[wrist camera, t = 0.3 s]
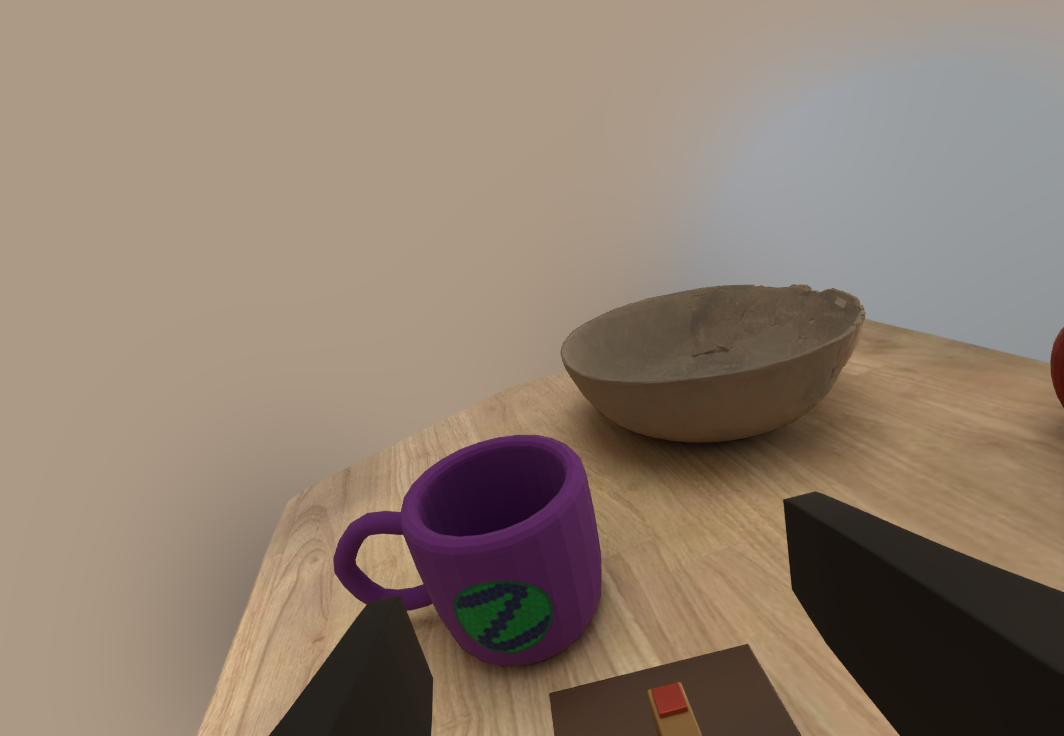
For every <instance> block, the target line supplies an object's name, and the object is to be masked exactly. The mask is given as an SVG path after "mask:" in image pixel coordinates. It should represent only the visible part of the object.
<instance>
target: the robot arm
mask: <svg viewBox="0 0 1064 736" xmlns="http://www.w3.org/2000/svg"><path fill="white" fill-rule="evenodd" d="M783 502H784V513H785V523H786V533H787V543H788V553H789V564H790V574H791V584H792V590H793V592H794V593H795V595H796V597H797V598H798V600H799V601H800V603H801V605H802V606H803V608H804V609H805V611H806V613H807V614H808V616H809V618H810V619H811V621H812V622H813V624H814V625H815V627H816V628H817V630H818V631H819V633H820V634H821V636H822V637H823V639H824V641H825V642H826V644H827V645H828V646H829V647H830V649H831V650H832V651H833V653H834V654H835V655H836V656H837V658H838V659H839V660H840V661H841V663H842V664H843V665H844V667H845V668H846V669H847V670H848V672H849V673H850V674H851V675H852V677H853V678H854V679H855V680H856V682H857V683H858V684H859V685H860V687H861V688H862V689H863V690H864V692H865V693H866V694H867V695H868V697H869V698H870V699H871V700H872V702H873V703H874V704H875V705H876V707H877V708H878V709H879V710H880V712H881V713H882V714H883V715H884V716H885V718H886V719H887V720H888V721H889V723H890V724H891V725H892V726H893V728H894V729H895V730H896V731H897V733H898V734H899V735H900V736H1064V592H1062V591H1059V590H1056V589H1054V588H1051V587H1048V586H1046V585H1043V584H1040V583H1038V582H1035V581H1032V580H1030V579H1027V578H1024V577H1022V576H1019V575H1016V574H1014V573H1011V572H1008V571H1006V570H1003V569H1000V568H998V567H995V566H993V565H990V564H988V563H985V562H983V561H980V560H978V559H975V558H973V557H970V556H968V555H965V554H963V553H960V552H958V551H955V550H953V549H950V548H948V547H946V546H943V545H941V544H938V543H936V542H934V541H931V540H929V539H927V538H924V537H922V536H919V535H917V534H915V533H912V532H910V531H908V530H905V529H903V528H901V527H899V526H896V525H894V524H892V523H889V522H887V521H885V520H882V519H880V518H878V517H876V516H873V515H871V514H869V513H866V512H864V511H862V510H860V509H857V508H855V507H853V506H850V505H848V504H846V503H843V502H841V501H839V500H836V499H834V498H831V497H829V496H826V495H824V494H821V493H819V492H812V493H808V494H804V495H800V496H796V497H792V498H788V499H784V500H783ZM432 700H433V677H432V674H431V672H430V669H429V667H428V664H427V662H426V659H425V657H424V654H423V651H422V649H421V646H420V644H419V641H418V639H417V636H416V634H415V631H414V629H413V626H412V623H411V621H410V618H409V616H408V613H407V611H406V608H405V606H404V603H403V601H402V598H401V596H400V595H398V596H394V597H390V598H386V599H382V600H378V601H374V602H370V603H368V604H367V605H366V606H365V608H364V609H363V610H362V611H361V613H360V614H359V615H358V617H357V618H356V619H355V621H354V622H353V624H352V625H351V626H350V628H349V629H348V630H347V632H346V633H345V635H344V636H343V637H342V639H341V640H340V641H339V643H338V644H337V646H336V647H335V648H334V650H333V651H332V652H331V654H330V655H329V657H328V658H327V659H326V661H325V662H324V664H323V665H322V666H321V668H320V669H319V670H318V672H317V673H316V674H315V676H314V677H313V678H312V680H311V681H310V682H309V684H308V685H307V686H306V688H305V689H304V690H303V692H302V693H301V695H300V696H299V697H298V699H297V700H296V701H295V703H294V704H293V705H292V707H291V708H290V709H289V711H288V712H287V713H286V715H285V716H284V717H283V718H282V720H281V721H280V722H279V723H278V725H277V726H276V727H275V728H274V730H273V731H272V732H271V734H270V735H269V736H431V726H432Z"/></svg>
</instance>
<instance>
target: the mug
mask: <svg viewBox="0 0 1064 736" xmlns="http://www.w3.org/2000/svg"><path fill="white" fill-rule="evenodd" d="M375 534H395V535H404V537H405V540H406V542H407V545H408V547H409V550H410V553H411V555H412V558H413V560H414V563H415V565H416V568H417V570H418V572H419V574H420V577H421V579H422V581H423V583H424V585H420V586H417V587H414V588H407V589H399V590H395V589H385V588H383V587H381V586H380V585H378V584H376V583H375V582H373V581H372V580H370V579H369V578H368V577H367V576H366V575H365V574H364V573H363V572H362V571H361V570H360V568H359V567H358V566H357V565H356V560H355V559H356V556H357V553H358V550H359V548H360V546H361V544H362V543H363V541H364V540H365V539H366V538H367V537H368V536H369V535H375ZM334 572H335V574H336V576H337V577H338V578H339V580H340V581H341V583H342V584H343V586H344V587H345V588H346V589H347V590H348V591H349V592H350V593H351V594H353V595H354V596H355V597H356V598H357V599H358V600H360V601H362V602H363V603H365V604H368V603H370V602H374V601H378V600H382V599H386V598H390V597H394V596H398V595H400V596H401V598H402V601H403V603H404V606H405V608H406V611H408V610H414V609H418V608H422V607H425V606H429V605H431V604H432V603H433V605H434V607H435V609H436V611H437V613H438V614H439V616H440V618H441V619H442V621H443V622H444V624H445V625H446V627H447V628H448V630H449V631H450V632H451V634H452V635H453V637H454V638H455V639H456V641H457V642H458V643H459V645H460V646H461V647H462V649H464V650H466V651H467V652H469V653H470V654H472V655H473V656H475V657H476V658H478V659H479V660H481V661H483V662H487V663H491V664H495V665H499V666H524V665H528V664H531V663H535V662H539V661H543V660H546V659H548V658H549V657H551V656H553V655H555V654H557V653H559V652H561V651H563V650H565V649H566V648H567V647H568V646H569V645H570V644H572V643H573V642H574V641H575V640H576V639H577V638H578V637H580V636H581V634H582V633H583V631H584V630H585V629H586V627H587V626H588V624H589V623H590V621H591V620H592V618H593V615H594V612H595V610H596V607H597V604H598V601H599V599H600V596H601V551H600V544H599V538H598V532H597V526H596V520H595V514H594V508H593V503H592V498H591V494H590V489H589V485H588V480H587V475H586V472H585V469H584V467H583V464H582V462H581V459H580V457H579V456H578V455H577V454H576V453H575V452H574V451H573V450H572V449H570V448H569V447H568V446H567V445H566V444H564V443H562V442H560V441H557V440H555V439H553V438H549V437H544V436H539V435H513V436H506V437H498V438H494V439H490V440H486V441H482V442H478V443H476V444H473V445H471V446H468V447H465V448H463V449H460V450H458V451H456V452H454V453H452V454H451V455H449V456H447V457H445V458H443V459H441V460H440V461H439V462H437V463H436V464H435V465H433V466H432V467H430V468H429V469H428V470H426V471H425V472H424V473H423V474H422V475H421V476H420V477H419V478H418V479H417V480H416V481H415V482H414V483H413V484H412V486H411V488H410V489H409V491H408V492H407V494H406V495H405V497H404V500H403V504H402V509H401V512H392V511H382V512H372V513H367V514H365V515H363V516H362V517H360V518H359V519H357V520H355V521H354V522H352V523H350V525H349V526H348V528H347V529H346V531H345V532H344V534H343V535H342V537H341V538H340V540H339V542H338V545H337V548H336V552H335V555H334Z"/></svg>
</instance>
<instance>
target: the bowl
mask: <svg viewBox="0 0 1064 736" xmlns="http://www.w3.org/2000/svg"><path fill="white" fill-rule="evenodd" d="M864 320H865V310H864V307H863V305H861V304H860V301H859V299H858V298H857V297H855V296H853V295H851V294H849V293H845V292H844V291H840V290H837V289H834V288H832V289H827V290H824V291H822V292H818V291H812V289H811V287H809V286H808V285H791V286H789V287H782V288H774V287H764V286H755V285H727V286H716V287H706V288H699V289H694V290H687V291H682V292H678V293H673V294H669V295H664V296H658V297H652V298H648V299H644V300H641V301H639V302H635V303H631V304H628V305H625V306H623V307H620V308H616V309H614V310H611V311H609V312H607V313H605V314H603V315H601V316H598V317H596V318H594V319H592V320H590V321H588V322H587V323H585V324H583V325H581V326H580V327H578V328H577V329H575V330H574V331H573V332H572V333H571V334H570V335H569V336H568V337H567V339H566V340H565V342H564V343H563V345H562V348H561V357H562V361H563V363H564V366H565V369H566V370H567V372H568V373H569V375H570V377H571V378H572V379H573V381H574V382H575V384H576V385H577V387H578V388H579V390H580V391H581V393H582V394H583V395H584V396H585V397H586V399H587V400H588V401H589V402H590V403H591V404H592V405H593V406H594V407H595V408H596V409H598V410H599V411H600V412H601V413H603V414H604V415H605V416H606V417H608V418H609V419H611V420H612V421H613V422H615V423H617V424H618V425H620V426H622V427H624V428H626V429H628V430H631V431H633V432H636V433H639V434H642V435H646V436H649V437H653V438H658V439H664V440H670V441H679V442H694V443H700V442H720V441H731V440H736V439H741V438H746V437H751V436H756V435H760V434H763V433H766V432H769V431H772V430H775V429H777V428H780V427H782V426H785V425H787V424H789V423H791V422H793V421H795V420H796V419H798V418H799V417H801V416H802V415H804V414H805V413H807V412H808V411H810V410H811V409H812V408H813V407H814V406H816V405H817V404H818V403H819V402H820V401H821V400H822V399H823V398H824V397H825V395H826V394H827V393H828V392H829V390H830V389H831V387H832V386H833V384H834V383H835V381H836V380H837V378H838V376H839V374H840V372H841V370H842V368H843V367H844V366H845V365H846V363H847V362H848V360H849V358H850V356H851V355H852V353H853V351H854V349H855V347H856V345H857V343H858V340H859V338H860V334H861V331H862V328H863V324H864Z"/></svg>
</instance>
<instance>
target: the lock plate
mask: <svg viewBox="0 0 1064 736" xmlns="http://www.w3.org/2000/svg"><path fill="white" fill-rule="evenodd" d="M677 682H680V683H681V684H682V686H683V689H684V691H685V694H686V696H687V699H688V701H689V704H690V706H691V709H692V711H693V714H694V716H695V719H696V721H697V724H698V726H699V729H700V731H701V734H702V736H801V734H800V732H799V731H798V729H797V727H796V725H795V724H794V722H793V720H792V719H791V717H790V715H789V713H788V712H787V710H786V708H785V706H784V705H783V703H782V701H781V700H780V698H779V696H778V694H777V693H776V691H775V689H774V687H773V686H772V684H771V682H770V681H769V679H768V677H767V675H766V674H765V672H764V670H763V668H762V667H761V665H760V663H759V662H758V660H757V658H756V656H755V655H754V653H753V651H752V650H751V648H750V646H749V645H748V644H746V645H742V646H738V647H734V648H729V649H725V650H721V651H717V652H713V653H709V654H705V655H701V656H697V657H693V658H689V659H685V660H681V661H677V662H673V663H669V664H665V665H661V666H657V667H653V668H649V669H645V670H641V671H637V672H633V673H629V674H625V675H621V676H617V677H613V678H609V679H605V680H601V681H597V682H593V683H589V684H585V685H581V686H577V687H573V688H569V689H565V690H561V691H557V692H553V693H550V694H549V696H550V703H551V711H552V719H553V727H554V735H555V736H656V732H655V727H654V723H653V718H652V713H651V708H650V703H649V698H648V693H647V692H648V690H649V689H653V688H657V687H661V686H665V685H669V684H673V683H677Z"/></svg>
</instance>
